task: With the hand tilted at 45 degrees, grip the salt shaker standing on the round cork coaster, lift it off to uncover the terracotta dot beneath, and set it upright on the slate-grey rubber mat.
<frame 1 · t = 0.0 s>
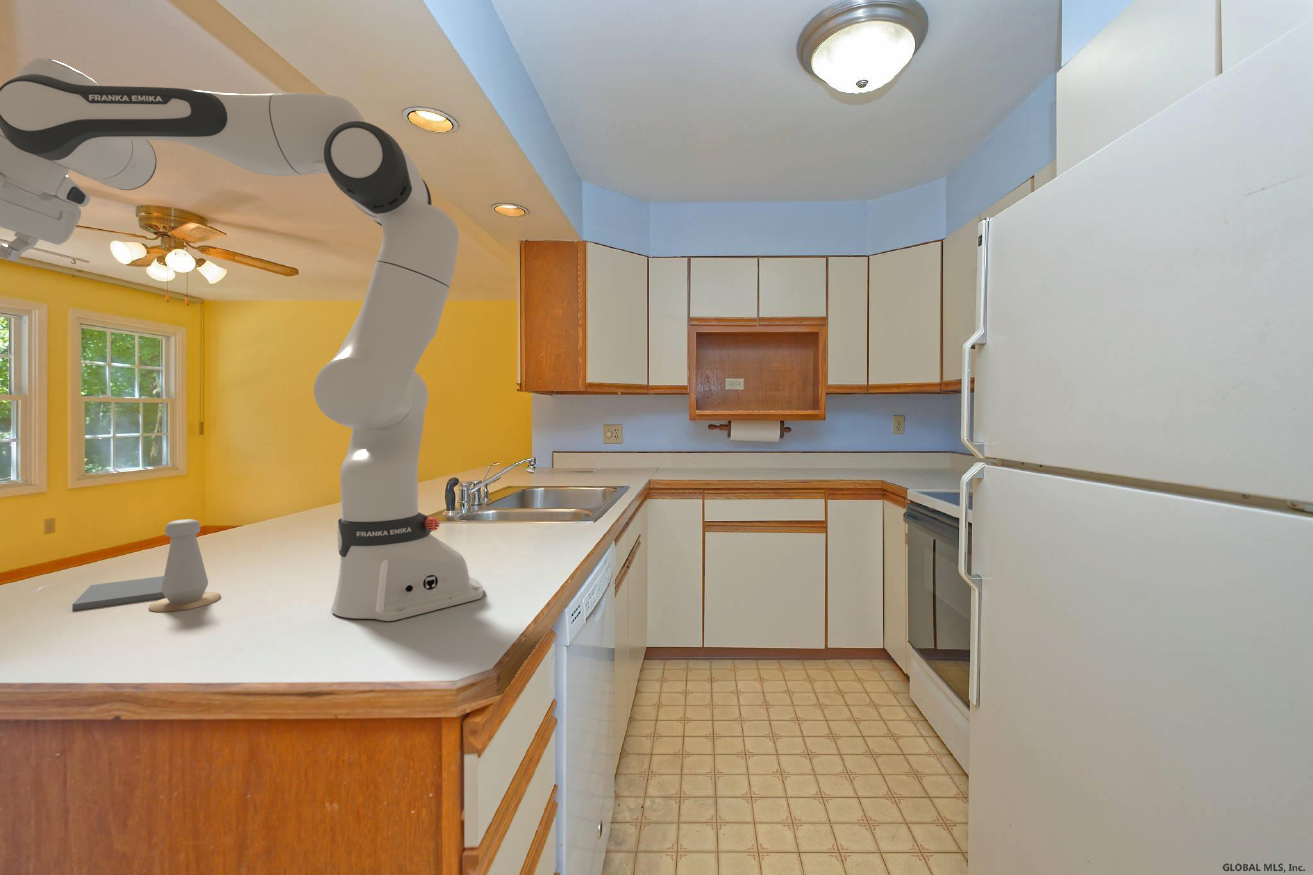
coaster: (185, 602, 93), on the counter
salt shaker: (185, 601, 93), resting on coaster
mat: (131, 593, 97), on the counter
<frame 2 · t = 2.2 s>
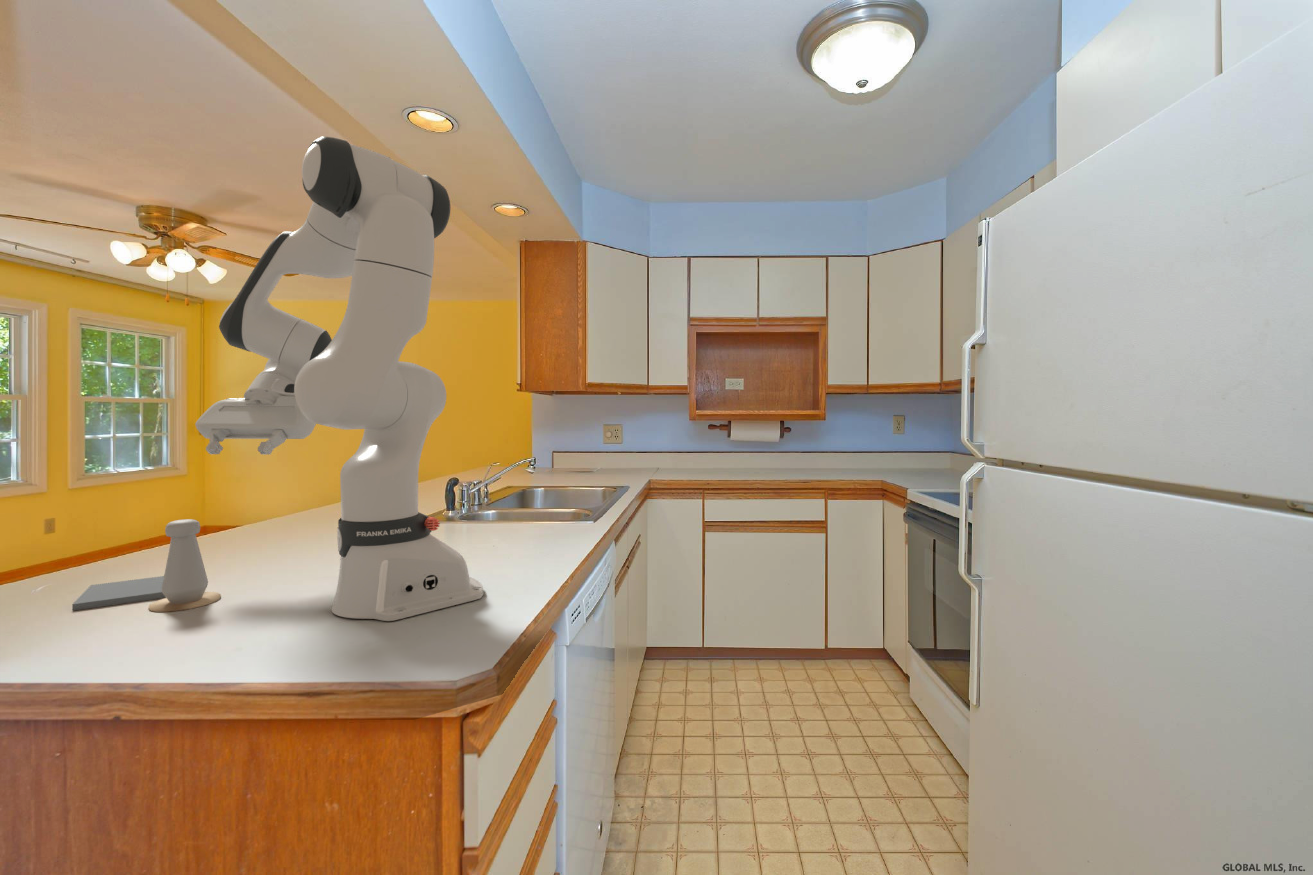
hand: (237, 452, 104), 23 cm above the counter, tool tilted 45°, fingers open, 8 cm apart
nothing on the counter moved.
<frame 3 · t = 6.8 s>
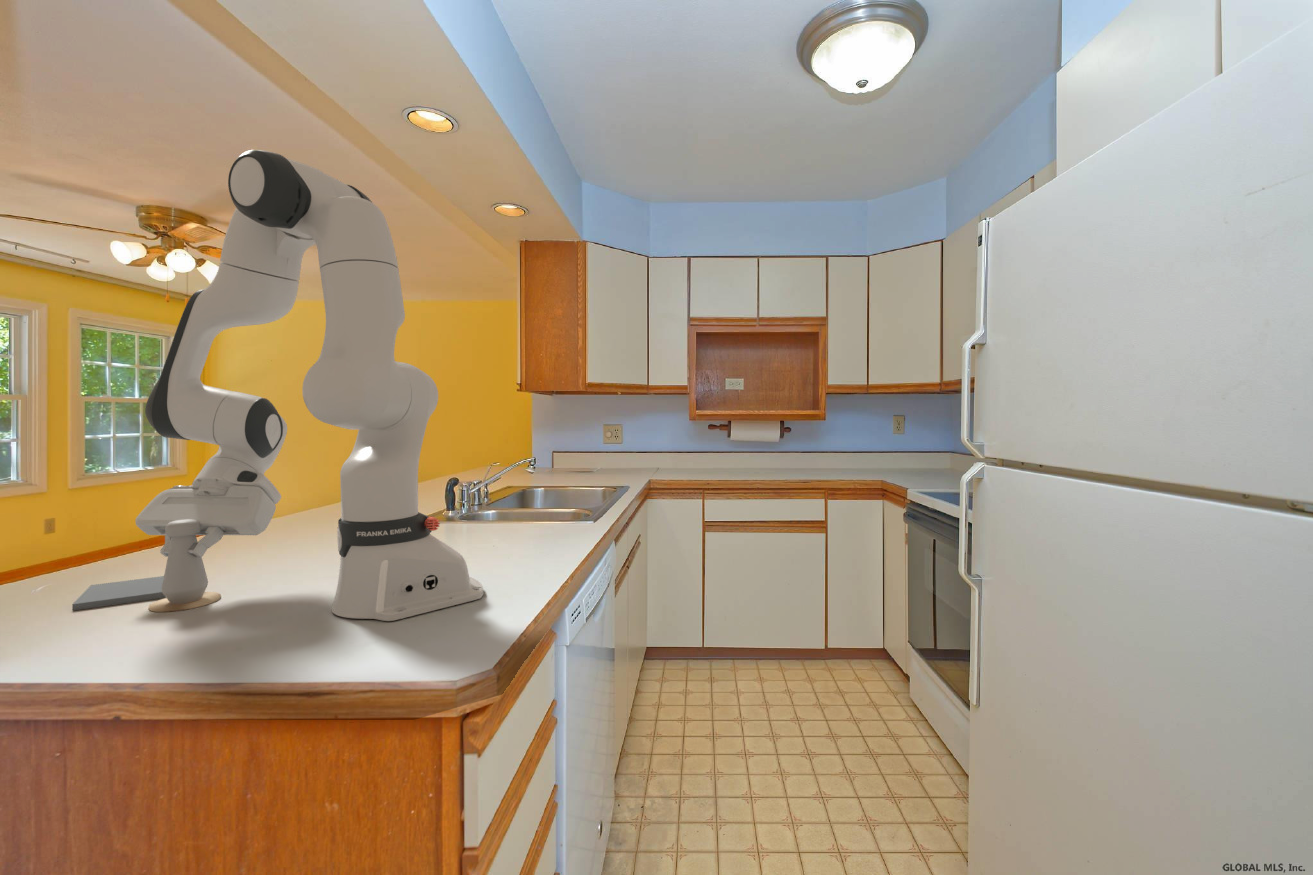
hand: (180, 555, 92), 8 cm above the counter, tool tilted 45°, fingers closed on salt shaker, 3 cm apart
salt shaker: (185, 601, 93), resting on coaster, touching gripper
when the fingers open (10 cm above the counter, at t = 12.3 s): salt shaker stays where it is, resting on mat.
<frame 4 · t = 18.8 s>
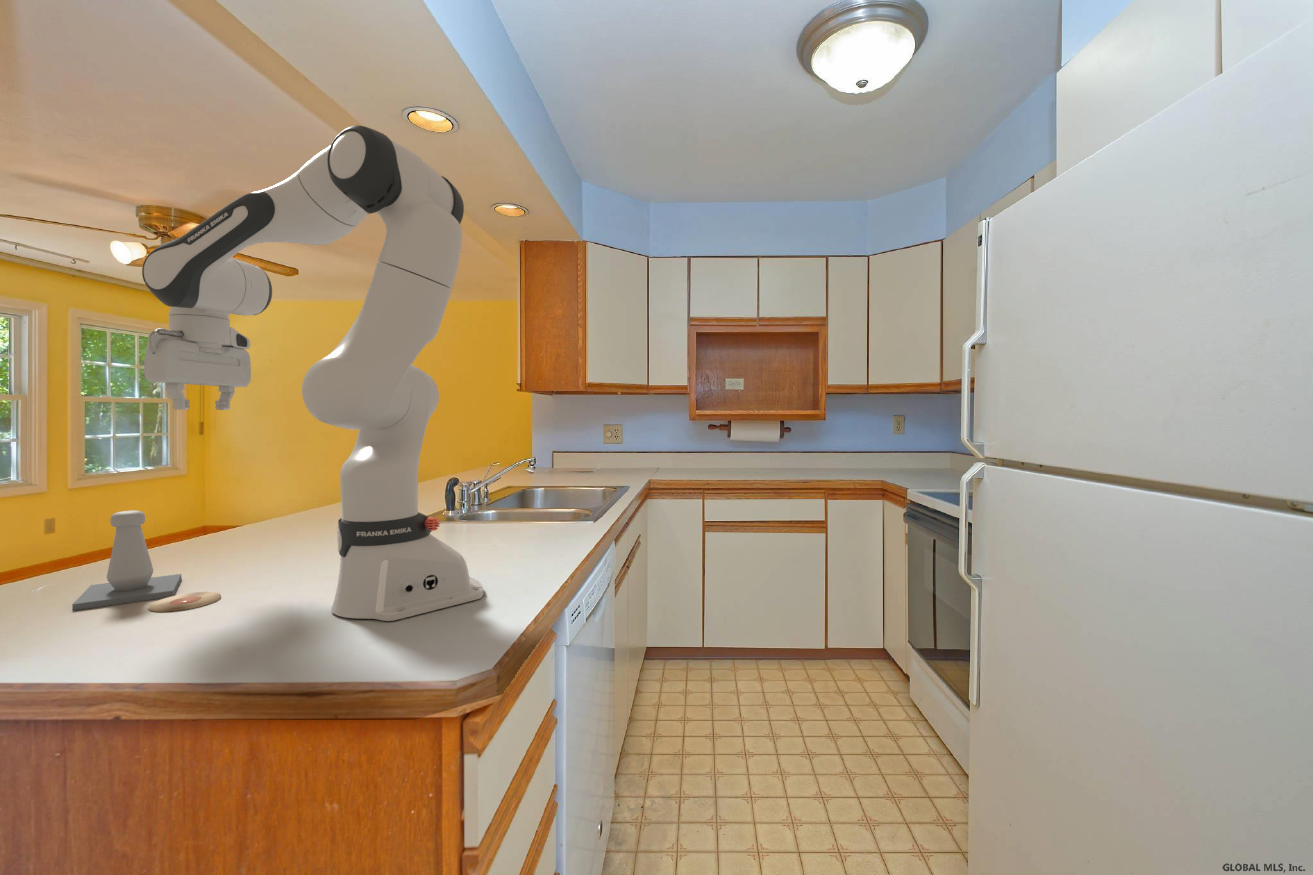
hand: (203, 409, 106), 31 cm above the counter, tool pointing down, fingers open, 8 cm apart
salt shaker: (131, 589, 97), point 1 cm above the counter, touching mat
at the end: salt shaker inside the target area on the mat (0.1 cm from its centre), point 0.8 cm above the mat's base; salt shaker tilted 0°; the gripper is holding nothing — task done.
